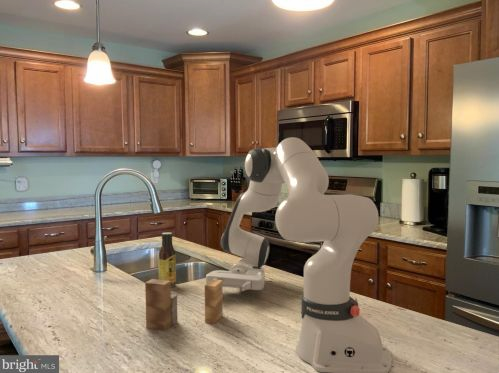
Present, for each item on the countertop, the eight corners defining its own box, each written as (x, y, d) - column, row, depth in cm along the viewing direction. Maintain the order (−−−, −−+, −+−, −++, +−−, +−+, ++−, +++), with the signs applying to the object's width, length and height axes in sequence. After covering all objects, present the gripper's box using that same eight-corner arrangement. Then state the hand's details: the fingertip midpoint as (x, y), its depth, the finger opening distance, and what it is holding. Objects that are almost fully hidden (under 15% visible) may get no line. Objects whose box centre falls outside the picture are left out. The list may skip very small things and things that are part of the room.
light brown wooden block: (222, 315, 121) (222, 280, 120) (215, 323, 115) (214, 286, 114) (212, 314, 122) (212, 279, 121) (205, 322, 116) (204, 285, 115)
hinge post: (177, 321, 116) (176, 278, 115) (166, 330, 110) (166, 284, 109) (156, 318, 118) (155, 276, 117) (144, 327, 112) (143, 282, 111)
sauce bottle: (172, 289, 145) (171, 235, 143) (156, 288, 146) (154, 234, 144) (178, 283, 151) (178, 231, 149) (163, 282, 152) (162, 231, 151)
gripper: (214, 264, 145) (198, 275, 132) (268, 268, 139) (257, 280, 126) (214, 281, 145) (198, 293, 132) (268, 286, 139) (257, 299, 126)
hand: (227, 287), depth 129 cm, fingers open, 8 cm apart
